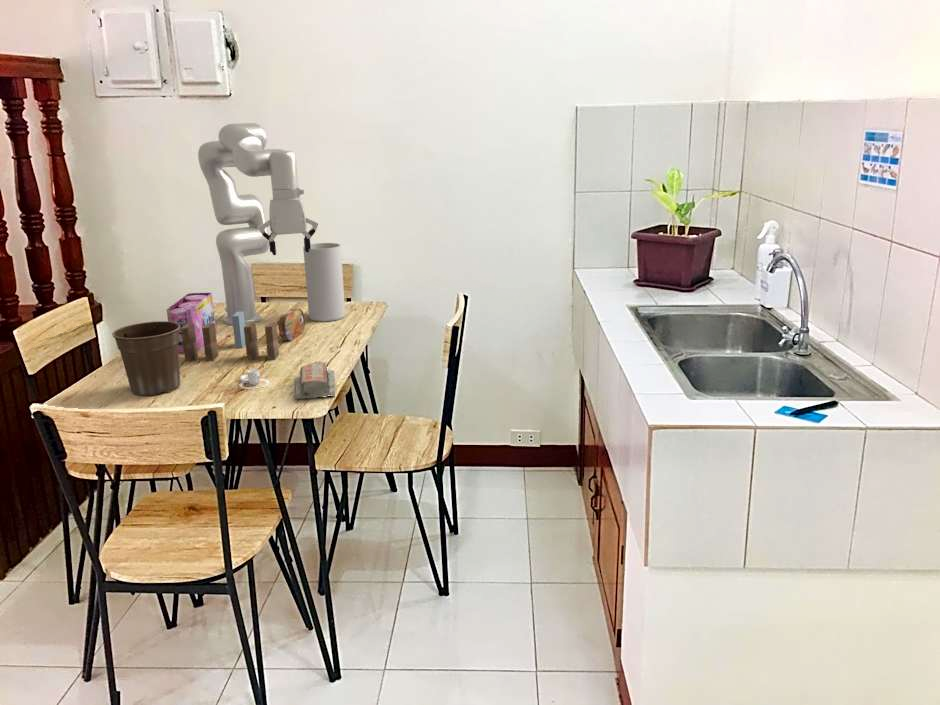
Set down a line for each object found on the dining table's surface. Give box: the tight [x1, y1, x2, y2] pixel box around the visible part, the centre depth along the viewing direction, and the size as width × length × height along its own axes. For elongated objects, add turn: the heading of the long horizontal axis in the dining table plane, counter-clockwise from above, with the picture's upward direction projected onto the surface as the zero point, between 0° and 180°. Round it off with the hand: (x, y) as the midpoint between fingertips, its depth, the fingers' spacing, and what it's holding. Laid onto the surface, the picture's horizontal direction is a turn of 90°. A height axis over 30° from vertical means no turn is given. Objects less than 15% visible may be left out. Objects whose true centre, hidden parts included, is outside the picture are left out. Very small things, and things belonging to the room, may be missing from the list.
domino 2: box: [202, 322, 219, 362], centre depth 230 cm, size 2×6×10 cm, turn 1°
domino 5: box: [264, 321, 280, 361], centre depth 230 cm, size 2×6×10 cm, turn 0°
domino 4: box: [244, 322, 260, 361], centre depth 230 cm, size 2×6×10 cm, turn 0°
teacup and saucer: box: [238, 368, 271, 390], centre depth 209 cm, size 9×8×4 cm
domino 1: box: [181, 323, 199, 363], centre depth 230 cm, size 2×6×10 cm, turn 1°
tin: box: [277, 308, 306, 341], centre depth 251 cm, size 15×3×8 cm, turn 168°
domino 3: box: [232, 312, 246, 349], centre depth 243 cm, size 2×6×10 cm, turn 0°
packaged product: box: [294, 360, 336, 400], centre depth 205 cm, size 18×5×10 cm
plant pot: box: [111, 320, 181, 397], centre depth 205 cm, size 16×16×16 cm
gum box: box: [166, 292, 217, 354], centre depth 246 cm, size 24×8×14 cm, turn 2°
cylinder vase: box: [302, 242, 346, 322], centre depth 272 cm, size 12×12×25 cm
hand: (290, 253), depth 235 cm, fingers open, 9 cm apart
